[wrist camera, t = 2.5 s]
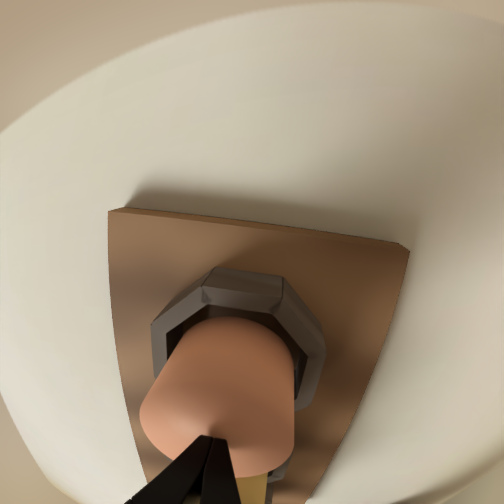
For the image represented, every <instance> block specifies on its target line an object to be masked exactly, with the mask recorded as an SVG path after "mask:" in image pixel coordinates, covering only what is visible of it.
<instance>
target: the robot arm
mask: <svg viewBox="0 0 504 504" xmlns="http://www.w3.org/2000/svg"><path fill="white" fill-rule="evenodd" d="M131 499H132V500H131ZM131 499H129V500H128V501H127V502H125V503H124V504H242V503H241V499H240V495H239V491H238V487H237V482H236V478H235V474H234V469H233V465H232V461H231V456H230V452H229V447H228V442H227V440H226V439H222V438H217V437H215V438H214V439H213V437H212V436H207V435H199V436H198V437H197V438H196V439H195V440H194V441H193V442H192V443H191V444H190V445H189V446H188V447H187V448H186V449H185V450H184V451H183V452H182V453H181V454H180V455H179V456H178V457H177V458H175V459H174V460H173V461H172V462H171V463H170V464H169V465H168V466H167V467H166V468H165V469H164V470H163V471H161V472H160V473H159V474H158V475H157V476H156V477H155V478H154V479H152V480H151V481H150V482H149V483H148V484H147V485H146V486H144V487H143V488H142V489H141V490H140V491H139V492H138V493H136V494H135V495H134V496H133V497H132V498H131Z"/></svg>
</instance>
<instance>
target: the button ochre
mask: <svg viewBox="0 0 504 504" xmlns="http://www.w3.org/2000/svg"><path fill="white" fill-rule="evenodd" d="M267 476H268V472H267V473H264V474H260V475H256V476H251V477H241V478H236V482H237V487H238V491H239V495H240V499H241V503H242V504H265V495H266V485H267Z"/></svg>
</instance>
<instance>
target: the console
mask: <svg viewBox="0 0 504 504" xmlns="http://www.w3.org/2000/svg"><path fill="white" fill-rule="evenodd" d="M409 253H410V251H409V250H408V249H406V248H405V247H403V246H402V245H400V244H399V243H393V242H387V241H381V240H375V239H369V238H363V237H356V236H350V235H343V234H337V233H330V232H323V231H316V230H310V229H303V228H295V227H288V226H281V225H274V224H266V223H259V222H251V221H243V220H235V219H227V218H219V217H210V216H202V215H193V214H184V213H175V212H166V211H156V210H146V209H136V208H126V207H122V208H118V209H115V210H111V211H108V263H109V283H110V297H111V309H112V319H113V328H114V336H115V344H116V351H117V358H118V364H119V370H120V376H121V382H122V387H123V392H124V397H125V402H126V406H127V411H128V415H129V420H130V424H131V428H132V432H133V436H134V440H135V443H136V447H137V451H138V454H139V457H140V461H141V464H142V467H143V471H144V474H145V477H146V480H147V483H149V482H150V481H151V480H152V479H154V478H155V477H156V476H157V475H158V474H159V473H160V472H161V471H163V470H164V469H165V468H166V467H167V466H168V465H169V464H170V463H171V462H172V461H173V460H172V459H170V458H169V457H167V456H166V455H164V454H163V453H162V452H161V451H160V450H158V449H157V448H156V447H155V446H154V445H153V444H152V442H151V441H150V440H149V439H148V437H147V436H146V434H145V432H144V430H143V428H142V426H141V422H140V416H139V413H140V407H141V404H142V402H143V401H144V399H145V397H146V396H147V394H148V392H149V391H150V389H151V387H152V386H153V384H154V382H155V381H156V379H157V377H158V376H159V374H160V372H161V371H162V369H163V367H164V366H165V364H166V362H167V361H168V359H169V358H170V356H171V354H172V353H173V351H174V349H175V348H176V346H177V344H178V343H179V341H180V340H181V338H182V336H183V335H184V334H185V333H186V332H187V330H188V329H190V328H191V327H192V326H194V325H195V324H197V323H199V322H201V321H204V320H206V319H210V318H214V317H222V316H231V317H240V318H245V319H249V320H252V321H255V322H257V323H259V324H262V325H264V326H265V327H267V328H269V329H270V330H272V331H273V332H274V333H276V334H277V335H278V336H279V337H280V338H281V339H282V340H283V341H284V343H285V344H286V345H287V347H288V349H289V351H290V353H291V355H292V358H293V363H294V447H293V451H292V453H291V455H290V456H289V458H288V459H287V460H286V461H285V462H284V463H283V464H282V465H280V466H279V467H277V468H276V469H274V470H271V471H269V472H268V476H267V485H266V495H265V504H305V502H306V501H307V499H308V498H309V496H310V494H311V493H312V491H313V490H314V488H315V486H316V485H317V483H318V482H319V480H320V478H321V477H322V475H323V473H324V472H325V470H326V468H327V466H328V465H329V463H330V461H331V459H332V457H333V456H334V454H335V452H336V450H337V448H338V446H339V444H340V443H341V441H342V439H343V437H344V435H345V433H346V431H347V429H348V427H349V425H350V423H351V421H352V418H353V416H354V414H355V412H356V410H357V408H358V406H359V403H360V401H361V399H362V397H363V394H364V392H365V390H366V387H367V385H368V382H369V380H370V378H371V375H372V373H373V370H374V367H375V365H376V362H377V360H378V357H379V354H380V352H381V349H382V346H383V343H384V340H385V337H386V335H387V332H388V329H389V326H390V323H391V319H392V316H393V313H394V310H395V306H396V303H397V300H398V296H399V293H400V289H401V285H402V282H403V278H404V274H405V270H406V266H407V262H408V258H409Z"/></svg>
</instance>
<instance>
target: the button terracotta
mask: <svg viewBox="0 0 504 504" xmlns="http://www.w3.org/2000/svg"><path fill="white" fill-rule="evenodd" d="M139 416H140V422H141V426H142V428H143V430H144V432H145V434H146V436H147V437H148V439H149V440H150V441H151V442H152V444H153V445H154V446H155V447H156V448H157V449H158V450H160V451H161V452H162V453H163V454H164V455H166V456H167V457H169V458H170V459H172V460H174V459H175V458H177V457H178V456H179V455H180V454H181V453H182V452H183V451H184V450H185V449H186V448H187V447H188V446H189V445H190V444H191V443H192V442H193V441H194V440H195V439H196V438H197V437H198V436H199V435H207V436H212V437H213V439H214V438H215V437H217V438H222V439H226V440H227V442H228V447H229V452H230V456H231V461H232V465H233V469H234V474H235V478H241V477H251V476H256V475H260V474H264V473H267V472H269V471H271V470H274V469H276V468H277V467H279V466H280V465H282V464H283V463H284V462H285V461H286V460H287V459H288V458H289V456H290V455H291V453H292V451H293V447H294V363H293V358H292V355H291V353H290V351H289V349H288V347H287V345H286V344H285V343H284V341H283V340H282V339H281V338H280V337H279V336H278V335H277V334H276V333H274V332H273V331H272V330H270V329H269V328H267V327H265V326H264V325H262V324H259V323H257V322H255V321H252V320H249V319H245V318H240V317H231V316H222V317H214V318H210V319H206V320H204V321H201V322H199V323H197V324H195V325H194V326H192V327H191V328H190V329H188V330H187V332H186V333H185V334H184V335H183V336H182V338H181V340H180V341H179V343H178V344H177V346H176V348H175V349H174V351H173V353H172V354H171V356H170V358H169V359H168V361H167V362H166V364H165V366H164V367H163V369H162V371H161V372H160V374H159V376H158V377H157V379H156V381H155V382H154V384H153V386H152V387H151V389H150V391H149V392H148V394H147V396H146V397H145V399H144V401H143V402H142V404H141V407H140V413H139Z"/></svg>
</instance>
